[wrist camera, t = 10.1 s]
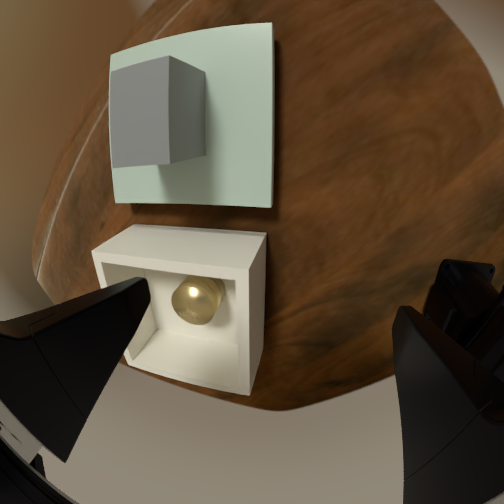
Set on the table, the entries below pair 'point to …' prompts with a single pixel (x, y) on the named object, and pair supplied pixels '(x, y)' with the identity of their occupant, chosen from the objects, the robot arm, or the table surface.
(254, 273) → the box
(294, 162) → the table surface
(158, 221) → the table surface
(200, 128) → the lid
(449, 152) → the table surface
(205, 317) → the brass weight
